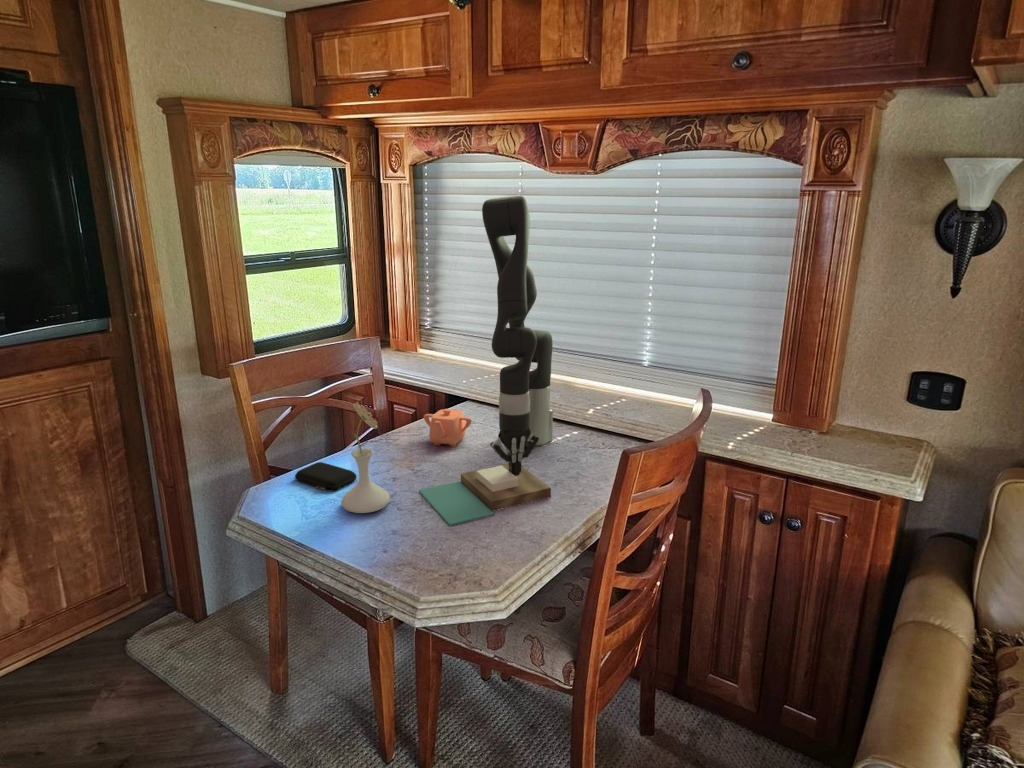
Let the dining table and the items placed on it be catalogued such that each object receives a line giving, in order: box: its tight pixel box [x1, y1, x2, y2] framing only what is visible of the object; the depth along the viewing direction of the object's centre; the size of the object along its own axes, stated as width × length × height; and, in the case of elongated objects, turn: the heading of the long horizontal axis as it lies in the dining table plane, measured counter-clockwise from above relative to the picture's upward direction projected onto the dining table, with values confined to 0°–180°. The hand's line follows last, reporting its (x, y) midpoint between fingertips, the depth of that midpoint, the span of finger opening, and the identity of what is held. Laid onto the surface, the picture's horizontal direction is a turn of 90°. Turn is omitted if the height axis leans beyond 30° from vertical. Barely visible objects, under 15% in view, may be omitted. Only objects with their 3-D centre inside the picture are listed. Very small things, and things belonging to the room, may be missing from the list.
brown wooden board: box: [460, 463, 552, 512], centre depth 170 cm, size 16×18×2 cm
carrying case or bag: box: [294, 461, 357, 492], centre depth 175 cm, size 11×3×15 cm
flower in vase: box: [340, 401, 391, 514], centre depth 159 cm, size 13×11×25 cm
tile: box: [475, 465, 518, 492], centre depth 168 cm, size 7×9×2 cm
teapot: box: [423, 408, 473, 448], centre depth 200 cm, size 14×12×10 cm
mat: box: [418, 480, 495, 527], centre depth 163 cm, size 11×20×1 cm, turn 27°
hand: (514, 474), depth 170 cm, fingers closed
